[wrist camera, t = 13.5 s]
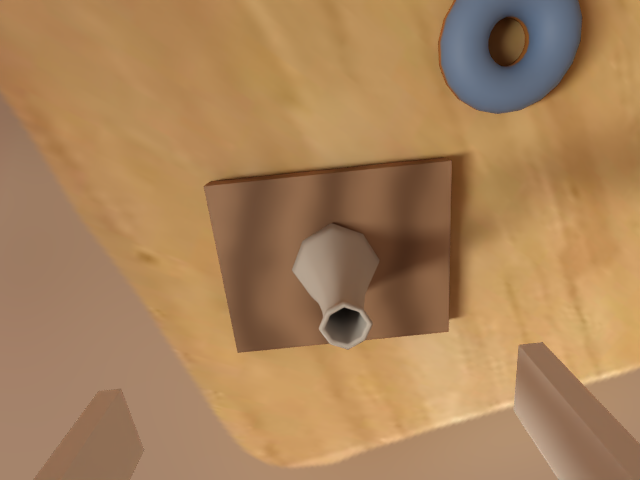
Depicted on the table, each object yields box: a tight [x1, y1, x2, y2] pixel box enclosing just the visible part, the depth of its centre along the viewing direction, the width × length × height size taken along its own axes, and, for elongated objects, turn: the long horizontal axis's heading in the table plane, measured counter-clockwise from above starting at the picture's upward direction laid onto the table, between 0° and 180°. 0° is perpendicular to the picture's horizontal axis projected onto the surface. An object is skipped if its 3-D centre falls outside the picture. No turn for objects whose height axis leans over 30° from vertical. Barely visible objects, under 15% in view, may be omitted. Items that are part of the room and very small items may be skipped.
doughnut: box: [438, 0, 582, 114], centre depth 28 cm, size 10×10×5 cm
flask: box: [292, 223, 380, 349], centre depth 28 cm, size 7×7×10 cm
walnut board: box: [204, 158, 452, 353], centre depth 34 cm, size 20×16×2 cm
